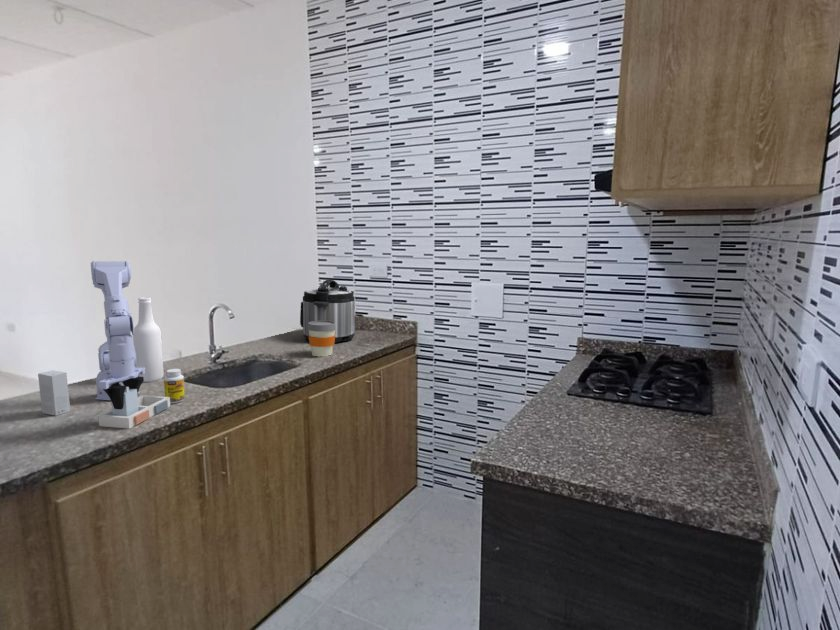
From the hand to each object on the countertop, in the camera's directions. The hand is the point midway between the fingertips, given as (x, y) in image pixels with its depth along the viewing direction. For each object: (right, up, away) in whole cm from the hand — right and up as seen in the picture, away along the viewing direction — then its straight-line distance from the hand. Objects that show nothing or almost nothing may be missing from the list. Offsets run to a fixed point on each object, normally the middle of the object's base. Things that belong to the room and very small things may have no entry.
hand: (125, 405), depth 127 cm
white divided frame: (0, -4, +5) cm, 6 cm away
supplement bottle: (+5, -2, +17) cm, 18 cm away
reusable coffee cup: (+38, +7, +80) cm, 89 cm away
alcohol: (-16, +2, +38) cm, 41 cm away
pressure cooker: (+34, +13, +113) cm, 119 cm away
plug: (0, -3, 0) cm, 3 cm away
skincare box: (-24, -3, +5) cm, 25 cm away
